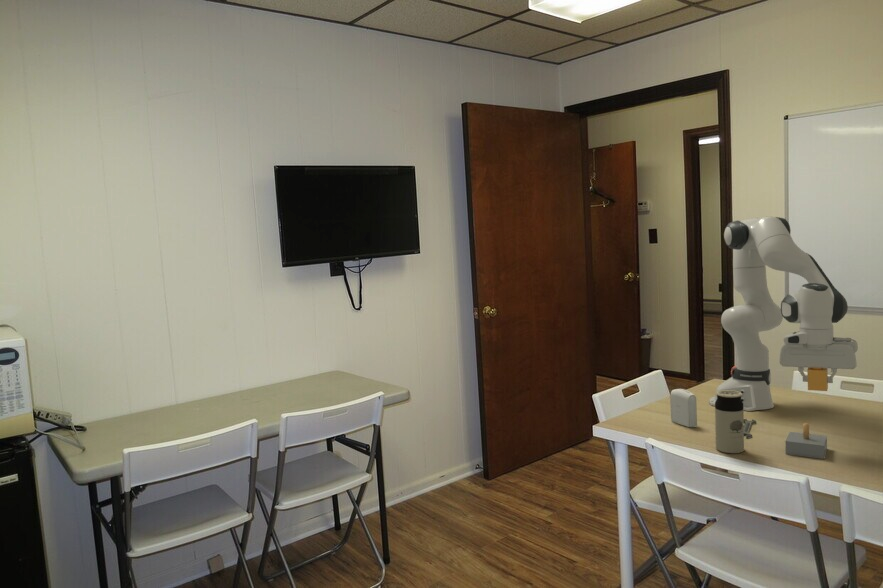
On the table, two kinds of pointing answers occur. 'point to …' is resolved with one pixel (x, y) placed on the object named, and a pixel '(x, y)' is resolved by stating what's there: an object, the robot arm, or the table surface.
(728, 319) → the robot arm
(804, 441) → the box
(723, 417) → the travel mug
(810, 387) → the orange cube with knob
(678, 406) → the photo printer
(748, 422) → the wrench
